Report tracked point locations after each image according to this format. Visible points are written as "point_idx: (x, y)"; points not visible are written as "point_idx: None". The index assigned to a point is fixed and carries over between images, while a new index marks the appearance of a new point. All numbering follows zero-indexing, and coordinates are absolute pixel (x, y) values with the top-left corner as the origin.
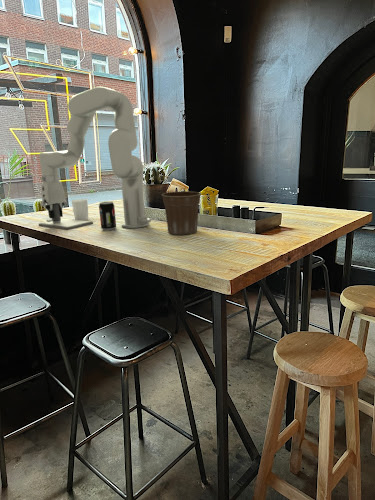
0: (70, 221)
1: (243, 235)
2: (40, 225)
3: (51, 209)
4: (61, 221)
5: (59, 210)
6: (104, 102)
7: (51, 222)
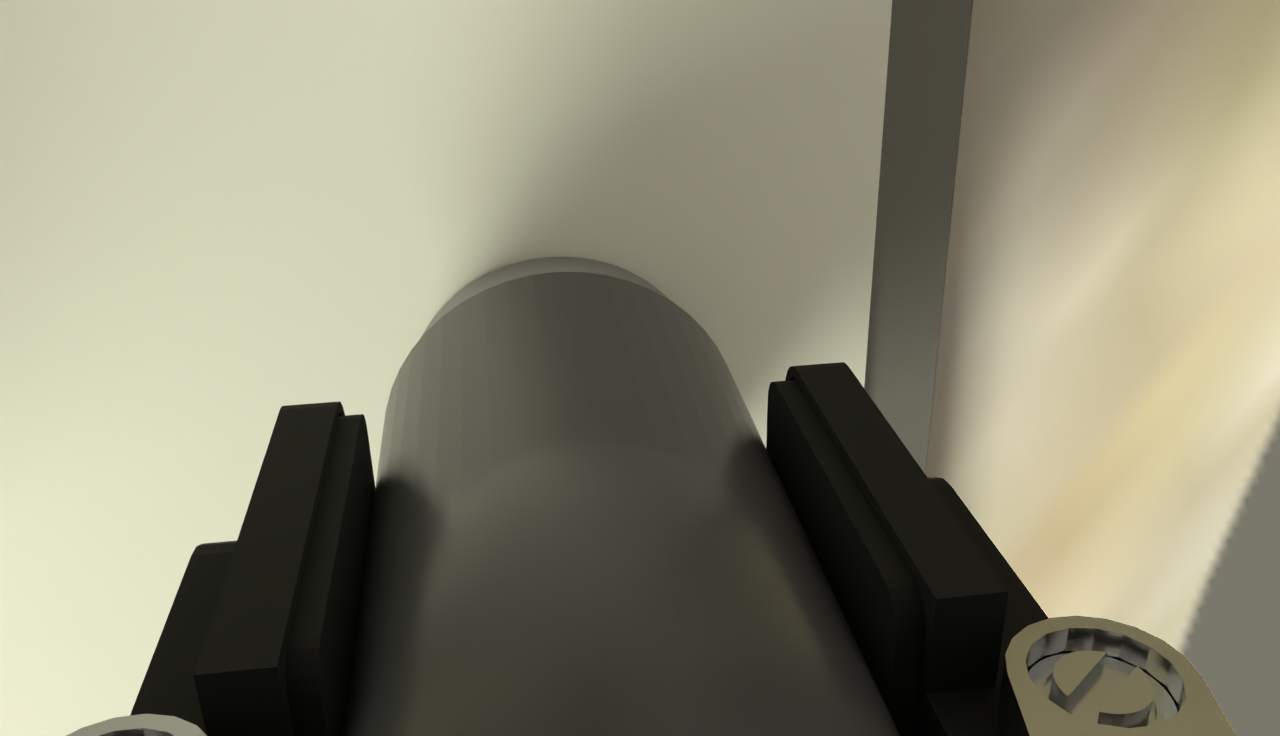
0: (53, 84)
1: None
2: None
3: (1070, 666)
4: None
5: (406, 611)
6: None
7: None
